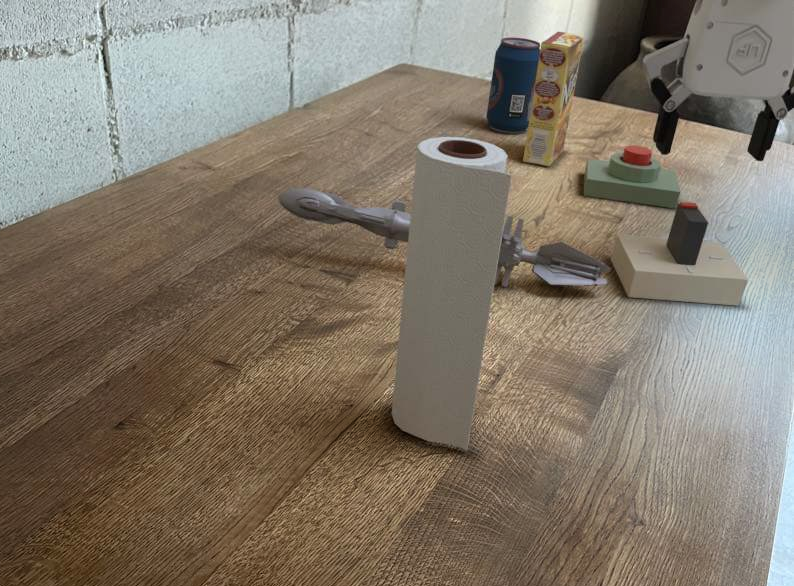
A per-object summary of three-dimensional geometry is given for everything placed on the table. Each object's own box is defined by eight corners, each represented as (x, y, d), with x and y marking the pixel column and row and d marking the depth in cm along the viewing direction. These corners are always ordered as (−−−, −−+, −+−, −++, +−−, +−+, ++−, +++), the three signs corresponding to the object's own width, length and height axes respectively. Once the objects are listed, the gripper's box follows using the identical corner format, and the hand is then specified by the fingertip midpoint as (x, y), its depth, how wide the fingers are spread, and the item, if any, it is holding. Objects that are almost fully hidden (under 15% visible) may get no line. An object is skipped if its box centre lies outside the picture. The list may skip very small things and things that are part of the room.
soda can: (481, 120, 144) (493, 34, 136) (524, 123, 145) (538, 38, 137) (489, 133, 139) (502, 45, 131) (534, 136, 140) (549, 48, 132)
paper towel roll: (392, 398, 77) (418, 129, 63) (464, 404, 77) (505, 137, 63) (389, 446, 71) (417, 162, 58) (467, 452, 71) (512, 171, 58)
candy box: (549, 168, 128) (572, 46, 119) (520, 162, 129) (540, 41, 120) (563, 151, 135) (586, 35, 125) (536, 146, 136) (556, 30, 126)
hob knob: (695, 265, 97) (709, 220, 94) (677, 263, 97) (690, 218, 94) (683, 246, 101) (696, 202, 98) (665, 245, 101) (678, 201, 98)
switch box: (671, 186, 126) (679, 156, 124) (675, 208, 119) (684, 177, 117) (584, 174, 127) (590, 144, 125) (583, 195, 120) (590, 164, 118)
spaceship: (292, 160, 97) (279, 152, 90) (612, 237, 98) (626, 235, 90) (278, 237, 100) (264, 235, 92) (591, 312, 100) (603, 316, 92)
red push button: (648, 161, 122) (651, 147, 121) (649, 169, 120) (653, 155, 118) (621, 157, 123) (624, 143, 122) (621, 165, 120) (625, 151, 119)
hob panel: (713, 267, 105) (722, 240, 103) (739, 306, 97) (749, 277, 95) (610, 259, 104) (616, 232, 102) (627, 297, 97) (635, 268, 95)
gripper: (680, -45, 79) (633, 160, 90) (874, -29, 80) (804, 171, 91) (659, -57, 85) (617, 137, 96) (840, -42, 86) (778, 148, 97)
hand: (708, 153), depth 94 cm, fingers open, 9 cm apart
